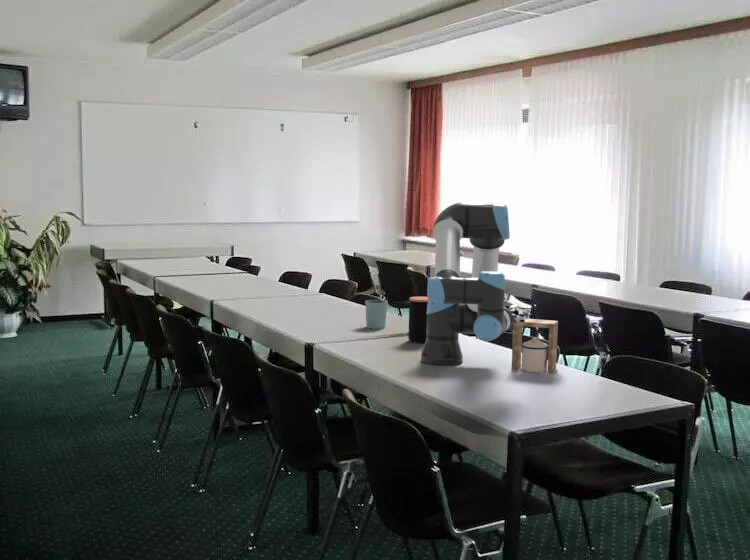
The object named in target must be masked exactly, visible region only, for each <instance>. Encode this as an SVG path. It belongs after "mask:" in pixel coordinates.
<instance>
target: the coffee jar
mask: <svg viewBox="0 0 750 560" xmlns="http://www.w3.org/2000/svg"><path fill="white" fill-rule="evenodd" d="M409 301H410V302H409V304H408V306H409V308H408V336H407V337H408V340H409V342H410V341H411V342H410V343H413V342H415V343H414V344H425V342H426V331H427V314H426V312H427V305H428V302H429V301H428V299H427V296H411V297H409Z"/></svg>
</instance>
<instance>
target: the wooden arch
mask: <svg viewBox="0 0 750 560" xmlns="http://www.w3.org/2000/svg"><path fill="white" fill-rule="evenodd" d="M523 327H529V328H542V329H548V351H547V370H546V371H547V373H548V374H553V372H555V370H556V369H557V356H558V355H557V354H558V352H557V350H558V349H557V348H558V331H559V320H551V319H550V320H549V319H539V318H536V319H535V318H525V322H520V321H518V320H517V321H516V322H513V324H512V346H511V347H512V348H511V349H512V350H511V370H517V369H518V368H519V367H520V366H522V344H523Z"/></svg>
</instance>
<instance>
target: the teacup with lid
mask: <svg viewBox="0 0 750 560" xmlns="http://www.w3.org/2000/svg"><path fill="white" fill-rule="evenodd" d="M548 347H549V344H548V343H545V342H543V341H542V340H540V339H539V337H538V336H533V337H532V338H531V339H529V340H528V341H525V342H522V348H521V370H522V371H524V372H528V373H533V374H534V373H538V374H539V373H546V371H548Z"/></svg>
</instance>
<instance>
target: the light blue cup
mask: <svg viewBox="0 0 750 560" xmlns="http://www.w3.org/2000/svg"><path fill="white" fill-rule="evenodd" d="M364 303H365V320H366V322H365V326H366V328H367V329H370V328H372V329H371V330H383V329H385V328H386V322H387V311H388V310H387V309H388V301H387V300H381V299H367V300H365V302H364ZM382 328H383V329H382Z"/></svg>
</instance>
